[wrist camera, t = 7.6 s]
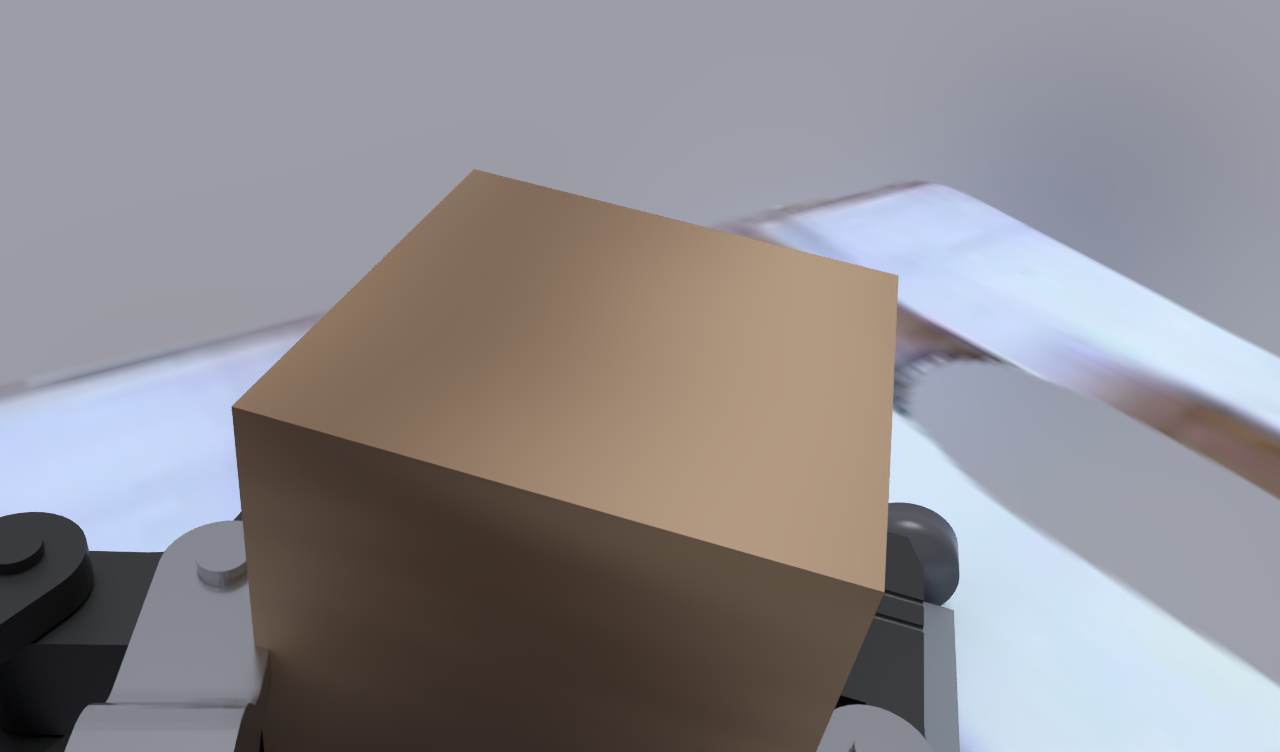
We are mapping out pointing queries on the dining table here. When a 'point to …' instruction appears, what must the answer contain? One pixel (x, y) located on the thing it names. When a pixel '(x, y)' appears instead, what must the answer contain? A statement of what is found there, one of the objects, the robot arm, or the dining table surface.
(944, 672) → the chassis
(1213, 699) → the dining table surface
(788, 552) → the brown wooden block
